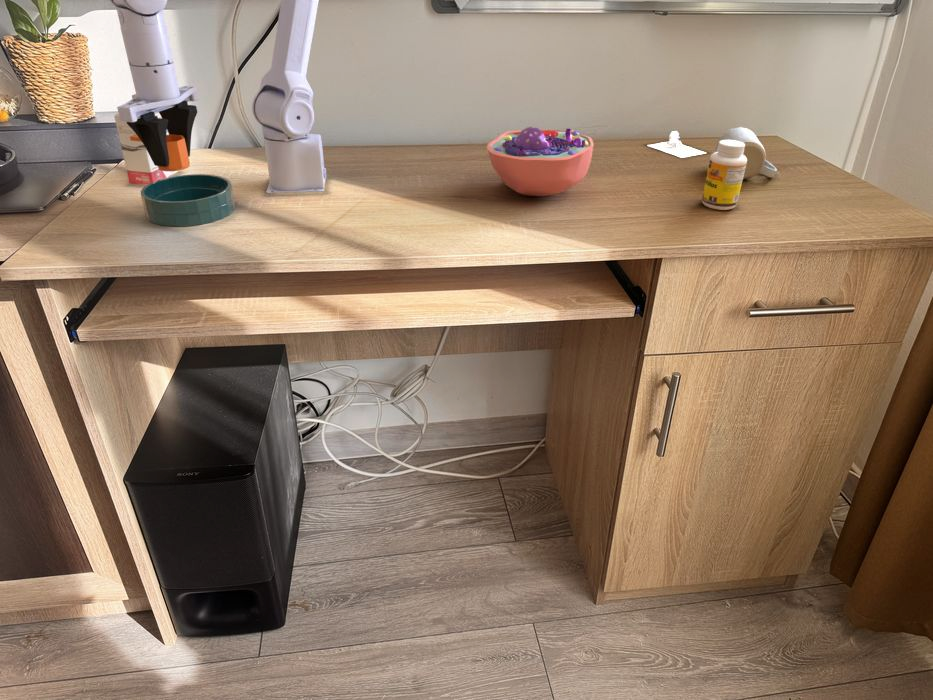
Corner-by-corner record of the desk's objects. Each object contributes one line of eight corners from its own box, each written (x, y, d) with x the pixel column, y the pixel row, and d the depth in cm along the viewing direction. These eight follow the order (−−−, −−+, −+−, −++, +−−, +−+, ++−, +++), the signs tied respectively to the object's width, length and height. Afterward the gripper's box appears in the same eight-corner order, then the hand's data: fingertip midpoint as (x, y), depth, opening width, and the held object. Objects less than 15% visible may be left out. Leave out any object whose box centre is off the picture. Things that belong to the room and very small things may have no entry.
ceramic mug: (721, 180, 123) (731, 137, 119) (710, 166, 130) (719, 125, 125) (781, 183, 122) (793, 140, 118) (766, 169, 129) (778, 128, 125)
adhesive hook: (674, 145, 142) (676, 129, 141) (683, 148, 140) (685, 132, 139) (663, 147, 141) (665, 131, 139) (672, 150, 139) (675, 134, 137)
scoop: (195, 164, 103) (190, 136, 101) (177, 172, 100) (171, 143, 97) (148, 158, 105) (142, 131, 103) (129, 166, 102) (121, 138, 99)
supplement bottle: (695, 199, 114) (708, 138, 109) (728, 199, 115) (741, 137, 109) (708, 211, 110) (721, 148, 104) (741, 211, 110) (756, 147, 105)
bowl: (241, 197, 112) (236, 173, 110) (228, 227, 101) (223, 200, 99) (158, 200, 111) (152, 175, 109) (137, 231, 100) (130, 204, 98)
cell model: (612, 188, 119) (621, 122, 113) (542, 218, 106) (547, 145, 100) (536, 167, 128) (540, 105, 122) (463, 192, 116) (464, 124, 110)
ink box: (155, 187, 116) (138, 116, 110) (128, 185, 117) (110, 114, 110) (183, 172, 123) (168, 104, 117) (157, 170, 124) (142, 102, 118)
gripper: (161, 53, 101) (180, 145, 108) (88, 70, 89) (115, 172, 96) (202, 56, 99) (219, 149, 107) (133, 73, 87) (158, 177, 95)
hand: (172, 160), depth 101 cm, fingers closed on scoop, 4 cm apart
